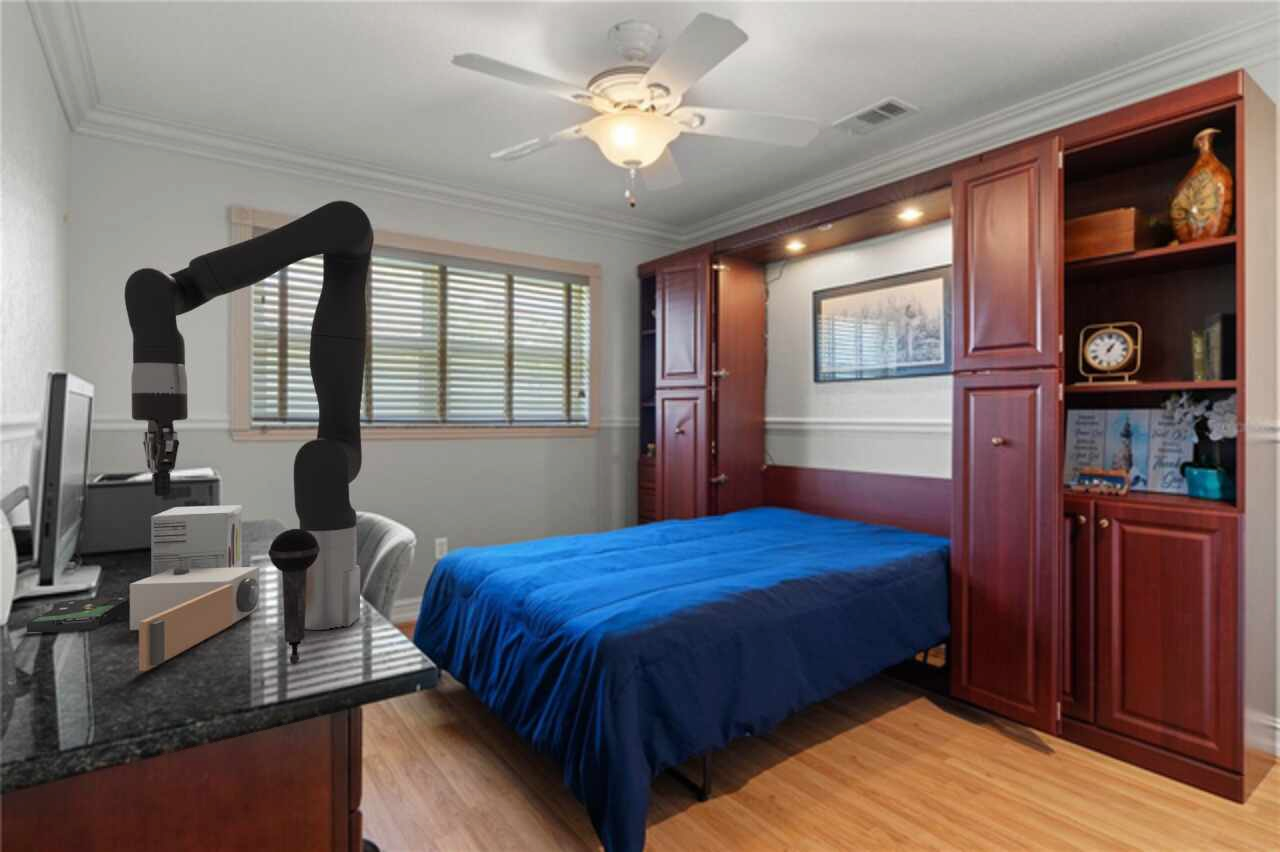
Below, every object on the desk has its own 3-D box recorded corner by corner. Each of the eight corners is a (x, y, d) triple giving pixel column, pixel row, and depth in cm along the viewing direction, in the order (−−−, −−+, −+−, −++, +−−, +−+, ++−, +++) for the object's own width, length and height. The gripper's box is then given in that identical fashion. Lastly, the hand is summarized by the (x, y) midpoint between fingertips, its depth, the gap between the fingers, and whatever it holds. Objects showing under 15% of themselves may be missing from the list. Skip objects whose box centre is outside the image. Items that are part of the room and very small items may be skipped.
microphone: (284, 674, 93) (284, 534, 93) (258, 665, 97) (258, 530, 97) (329, 659, 99) (329, 527, 99) (303, 651, 102) (303, 524, 102)
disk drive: (67, 615, 125) (25, 637, 111) (67, 600, 125) (25, 620, 111) (132, 609, 129) (99, 630, 115) (132, 595, 129) (99, 614, 115)
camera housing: (269, 607, 127) (269, 562, 127) (238, 626, 116) (238, 576, 116) (171, 610, 125) (171, 564, 125) (129, 630, 113) (129, 579, 113)
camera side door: (227, 624, 115) (226, 584, 115) (238, 624, 115) (238, 584, 115) (139, 670, 93) (139, 621, 93) (153, 670, 93) (153, 621, 93)
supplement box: (229, 602, 132) (228, 512, 132) (149, 609, 127) (149, 516, 127) (244, 583, 148) (243, 503, 148) (173, 589, 143) (173, 506, 143)
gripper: (197, 390, 107) (198, 496, 107) (176, 394, 116) (178, 491, 116) (140, 389, 102) (142, 500, 102) (123, 393, 111) (125, 495, 111)
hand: (161, 495), depth 109 cm, fingers closed
